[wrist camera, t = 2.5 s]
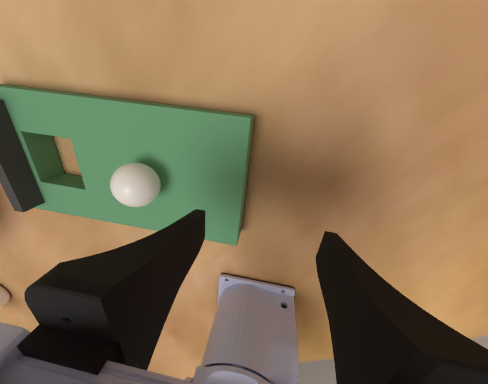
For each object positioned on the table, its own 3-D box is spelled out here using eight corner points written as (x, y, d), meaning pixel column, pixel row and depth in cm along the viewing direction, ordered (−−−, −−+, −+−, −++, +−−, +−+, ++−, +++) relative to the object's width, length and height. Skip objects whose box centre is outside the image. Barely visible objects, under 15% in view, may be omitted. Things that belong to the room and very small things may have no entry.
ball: (167, 160, 17) (140, 175, 13) (169, 197, 18) (147, 219, 15) (127, 154, 17) (92, 167, 14) (133, 191, 19) (103, 211, 15)
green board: (254, 114, 16) (241, 124, 11) (240, 230, 22) (227, 278, 16) (3, 84, 19) (-120, 78, 13) (47, 195, 24) (-26, 227, 18)
